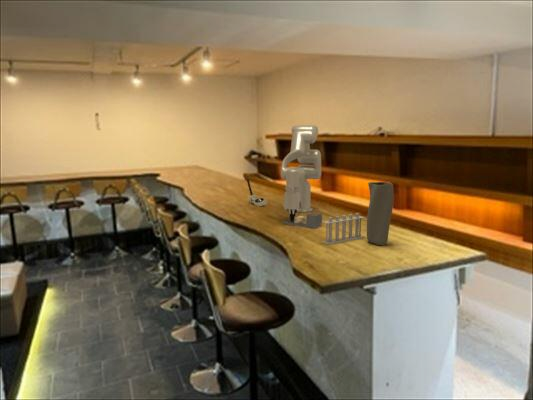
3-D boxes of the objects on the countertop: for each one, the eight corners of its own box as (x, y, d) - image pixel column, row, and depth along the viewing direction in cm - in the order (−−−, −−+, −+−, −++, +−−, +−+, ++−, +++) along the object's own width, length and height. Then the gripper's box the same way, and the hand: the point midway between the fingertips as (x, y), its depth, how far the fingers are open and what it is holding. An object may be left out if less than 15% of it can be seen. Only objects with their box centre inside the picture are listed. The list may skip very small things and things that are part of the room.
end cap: (306, 227, 237) (306, 214, 236) (312, 224, 244) (312, 212, 242) (315, 228, 234) (315, 216, 233) (321, 226, 240) (321, 213, 239)
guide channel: (282, 224, 246) (282, 221, 246) (287, 221, 252) (287, 219, 251) (307, 227, 238) (307, 224, 237) (311, 225, 243) (311, 222, 243)
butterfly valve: (269, 205, 305) (257, 200, 319) (263, 180, 297) (251, 176, 311) (260, 210, 301) (248, 204, 315) (254, 185, 293) (242, 180, 307)
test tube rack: (327, 245, 202) (327, 218, 199) (321, 243, 205) (321, 217, 203) (364, 238, 214) (365, 213, 212) (358, 236, 218) (359, 211, 216)
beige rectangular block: (294, 224, 244) (294, 216, 243) (297, 223, 247) (297, 215, 246) (312, 227, 237) (312, 219, 236) (314, 226, 240) (315, 218, 239)
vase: (384, 239, 211) (386, 181, 206) (395, 245, 199) (398, 184, 194) (361, 240, 209) (363, 182, 204) (371, 247, 197) (374, 185, 192)
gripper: (278, 189, 244) (278, 220, 247) (300, 191, 236) (300, 222, 239) (284, 188, 250) (284, 217, 253) (306, 190, 242) (306, 220, 245)
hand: (292, 220), depth 246 cm, fingers closed
